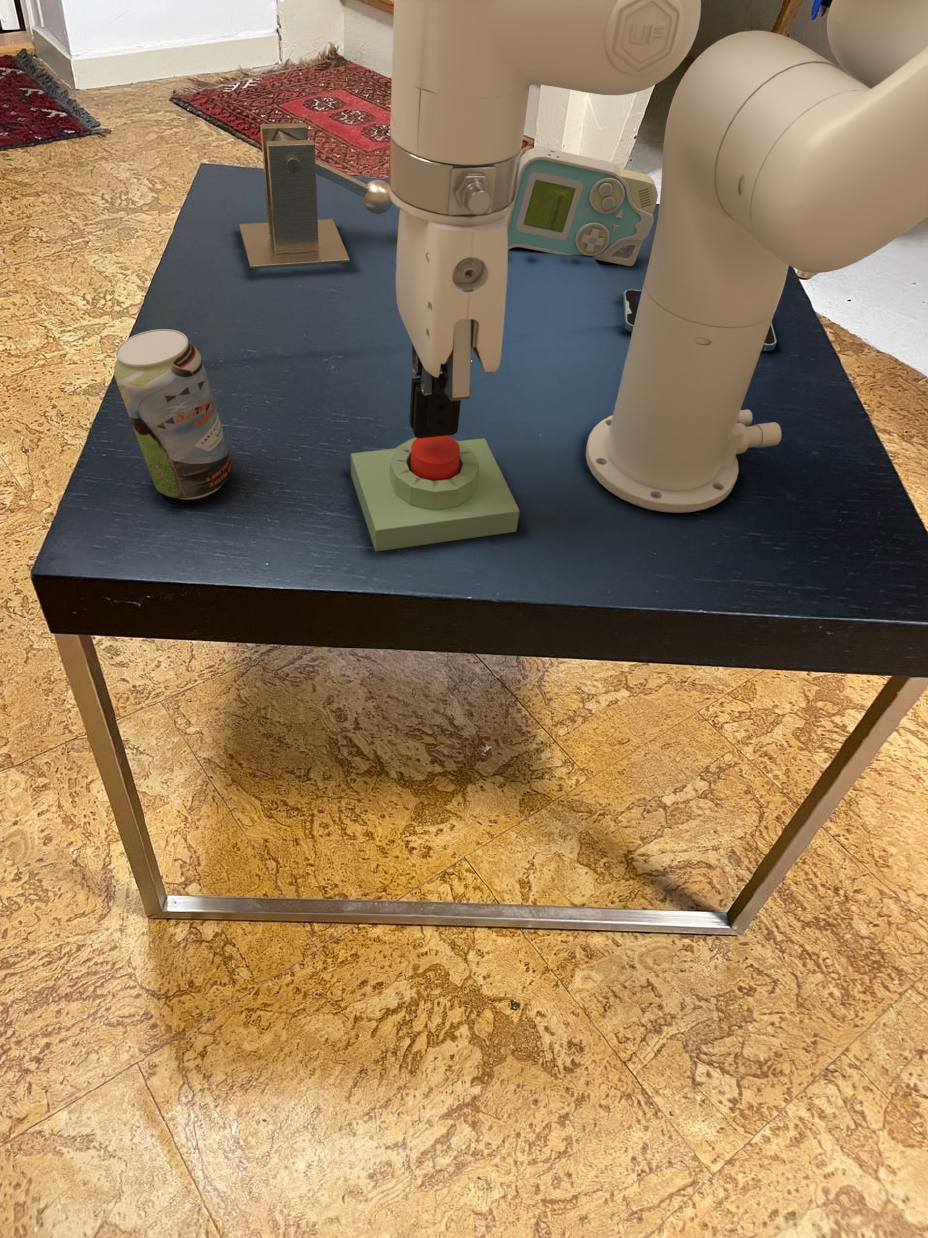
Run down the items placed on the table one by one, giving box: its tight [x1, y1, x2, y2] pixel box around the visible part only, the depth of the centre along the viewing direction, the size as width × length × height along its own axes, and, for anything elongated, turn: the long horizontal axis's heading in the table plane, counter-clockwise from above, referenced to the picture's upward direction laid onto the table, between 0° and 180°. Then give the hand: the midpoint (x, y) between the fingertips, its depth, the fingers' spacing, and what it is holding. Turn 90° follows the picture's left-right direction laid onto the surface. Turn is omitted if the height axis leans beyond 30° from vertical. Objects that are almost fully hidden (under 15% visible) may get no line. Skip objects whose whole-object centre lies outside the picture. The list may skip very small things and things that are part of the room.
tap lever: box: [274, 131, 394, 215], centre depth 94 cm, size 13×3×3 cm, turn 106°
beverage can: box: [113, 328, 234, 500], centre depth 69 cm, size 6×7×12 cm
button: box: [411, 435, 460, 481], centre depth 71 cm, size 4×4×2 cm
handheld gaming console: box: [505, 146, 659, 267], centre depth 99 cm, size 11×3×15 cm
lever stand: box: [238, 122, 351, 270], centre depth 94 cm, size 10×9×12 cm
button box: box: [350, 437, 520, 552], centre depth 72 cm, size 11×9×4 cm
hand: (433, 429), depth 69 cm, fingers closed
